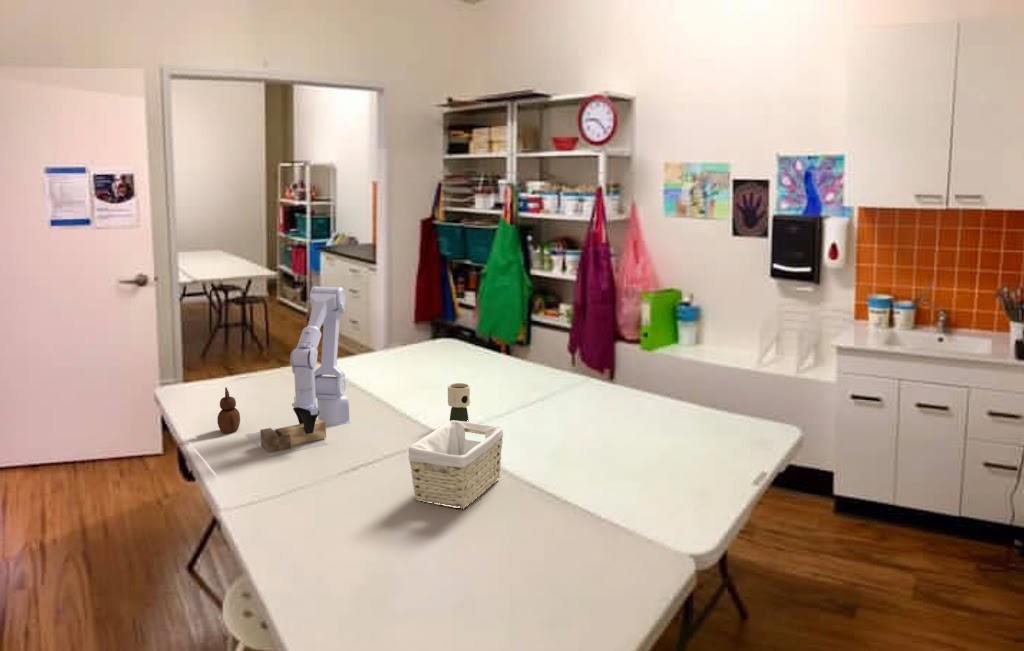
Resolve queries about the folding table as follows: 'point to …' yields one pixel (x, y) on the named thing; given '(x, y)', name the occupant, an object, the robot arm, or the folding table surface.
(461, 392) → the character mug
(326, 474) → the folding table surface
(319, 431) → the rail
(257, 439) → the mat
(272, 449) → the bracket
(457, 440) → the storage basket
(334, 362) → the robot arm
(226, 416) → the wooden figurine
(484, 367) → the folding table surface
